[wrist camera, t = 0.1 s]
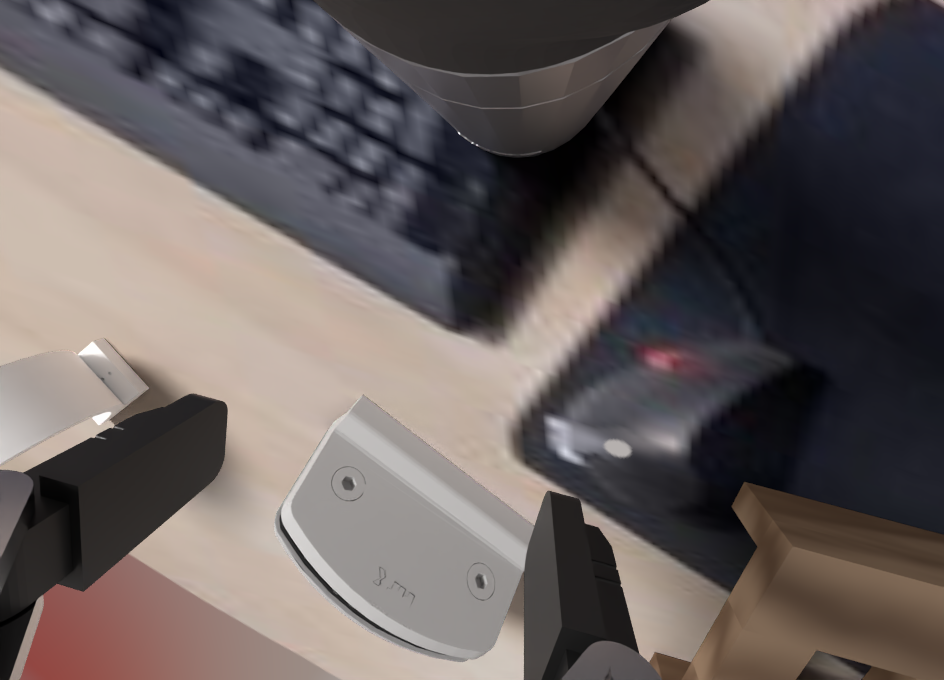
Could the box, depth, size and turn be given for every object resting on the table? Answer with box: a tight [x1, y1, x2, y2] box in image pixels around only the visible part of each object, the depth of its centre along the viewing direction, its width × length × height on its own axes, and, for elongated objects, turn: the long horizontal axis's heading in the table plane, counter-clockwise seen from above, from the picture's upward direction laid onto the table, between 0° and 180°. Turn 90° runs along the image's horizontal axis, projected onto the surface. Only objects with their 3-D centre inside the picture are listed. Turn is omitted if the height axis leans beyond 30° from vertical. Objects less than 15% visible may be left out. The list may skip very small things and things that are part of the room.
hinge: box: [274, 395, 534, 662], centre depth 28 cm, size 17×5×10 cm, turn 51°
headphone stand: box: [0, 338, 149, 466], centre depth 26 cm, size 5×6×12 cm
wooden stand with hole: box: [650, 482, 944, 680], centre depth 28 cm, size 18×14×6 cm
